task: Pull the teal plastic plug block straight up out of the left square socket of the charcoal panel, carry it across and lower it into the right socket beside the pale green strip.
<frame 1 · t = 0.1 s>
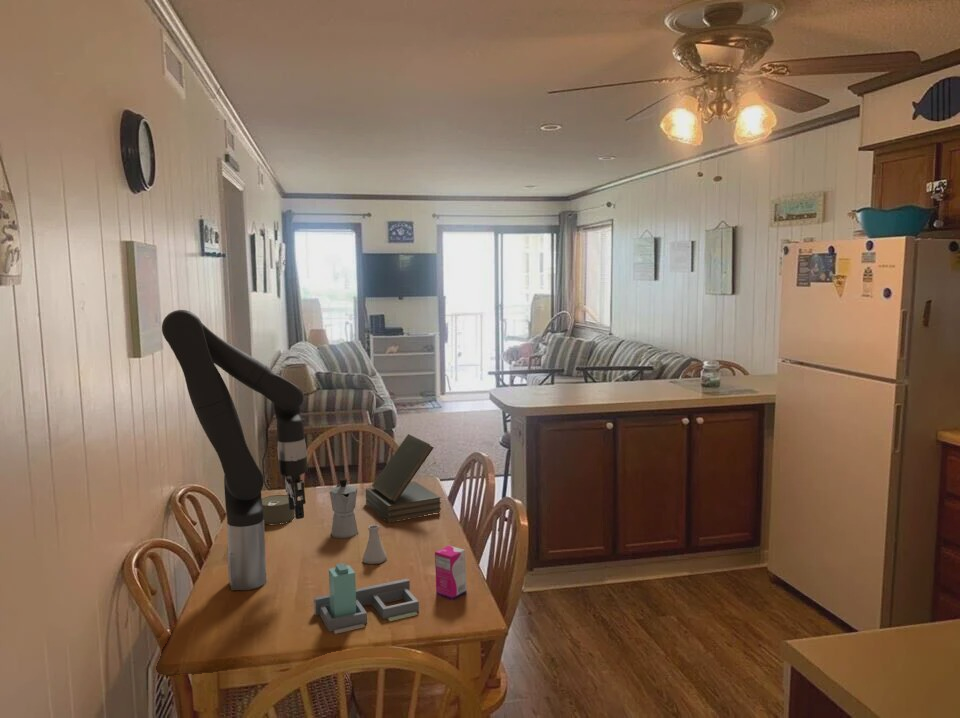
hand: (296, 513, 187), 17 cm above the table, tool pointing down, fingers open, 8 cm apart
can: (277, 520, 233), on the table
plug: (343, 619, 163), resting in socket panel
socket panel: (369, 613, 165), on the table
flask: (374, 560, 198), on the table
coffee maker: (344, 533, 220), on the table
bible: (402, 510, 244), on the table
supplement box: (451, 594, 176), on the table
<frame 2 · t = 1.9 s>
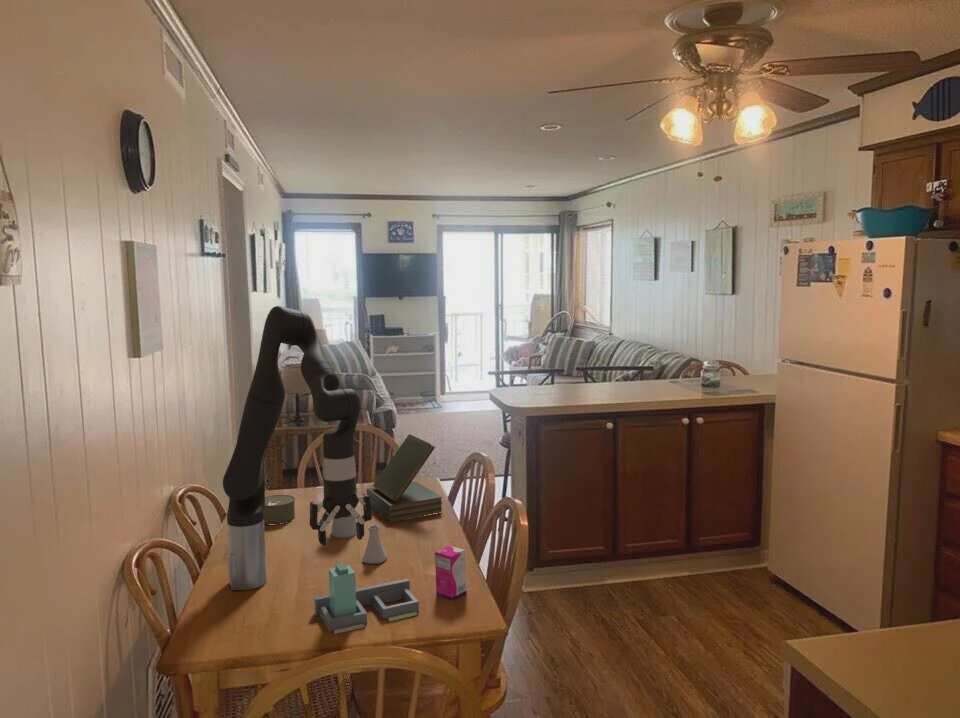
hand: (341, 541, 161), 19 cm above the table, tool pointing down, fingers open, 8 cm apart
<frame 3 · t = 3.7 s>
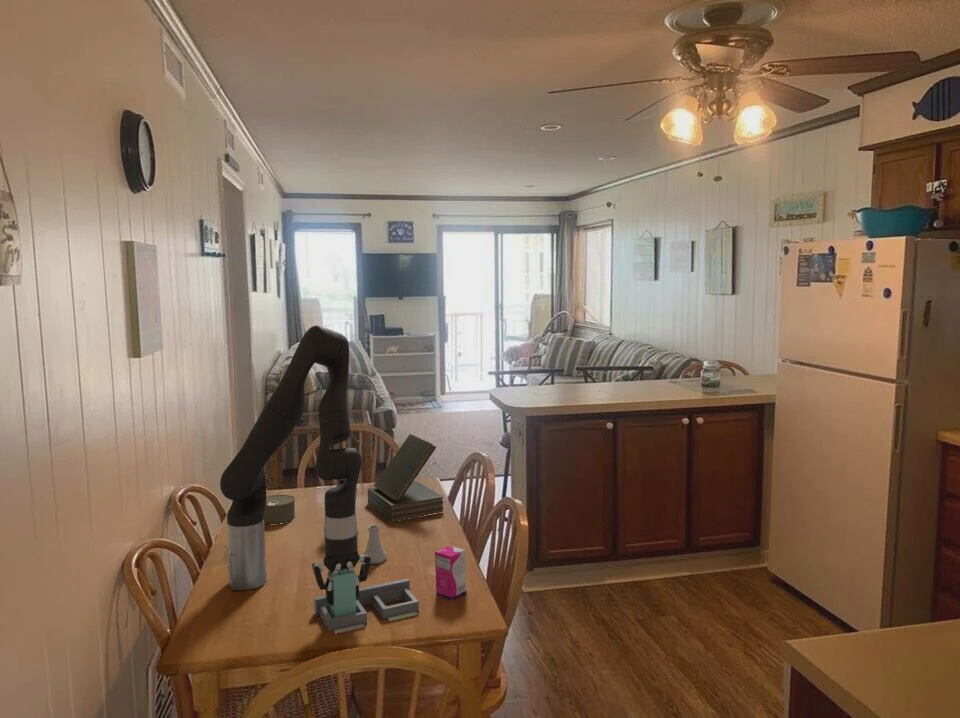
hand: (342, 601, 162), 4 cm above the table, tool pointing down, fingers closed on plug, 5 cm apart
plug: (343, 619, 163), resting in socket panel, touching gripper
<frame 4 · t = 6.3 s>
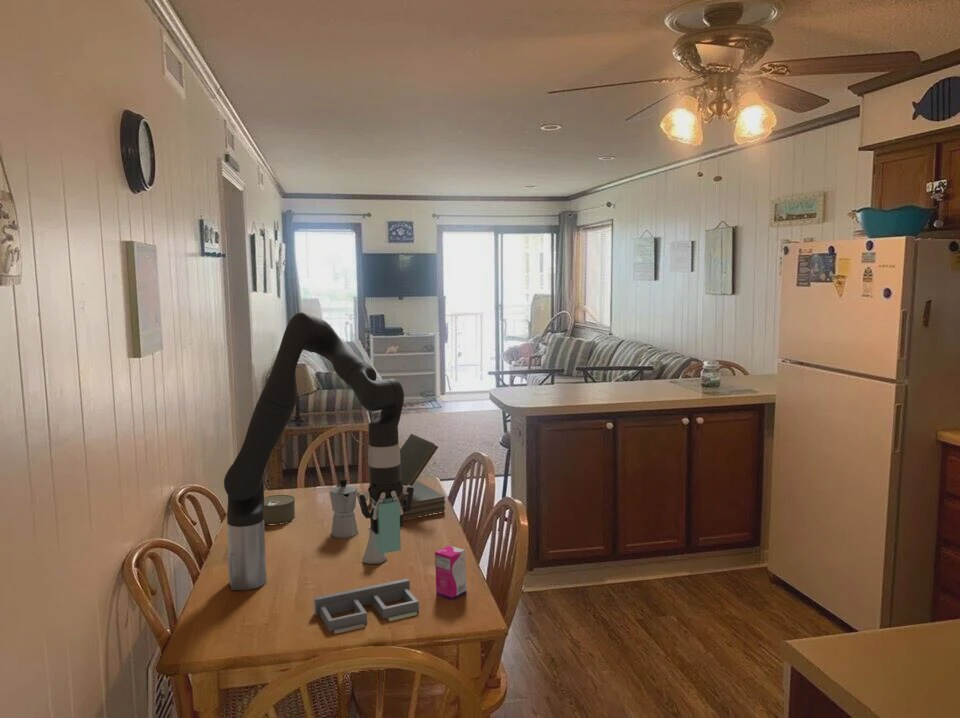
hand: (387, 530, 165), 20 cm above the table, tool pointing down, fingers closed on plug, 5 cm apart
plug: (387, 548, 166), point 15 cm above the table, touching gripper
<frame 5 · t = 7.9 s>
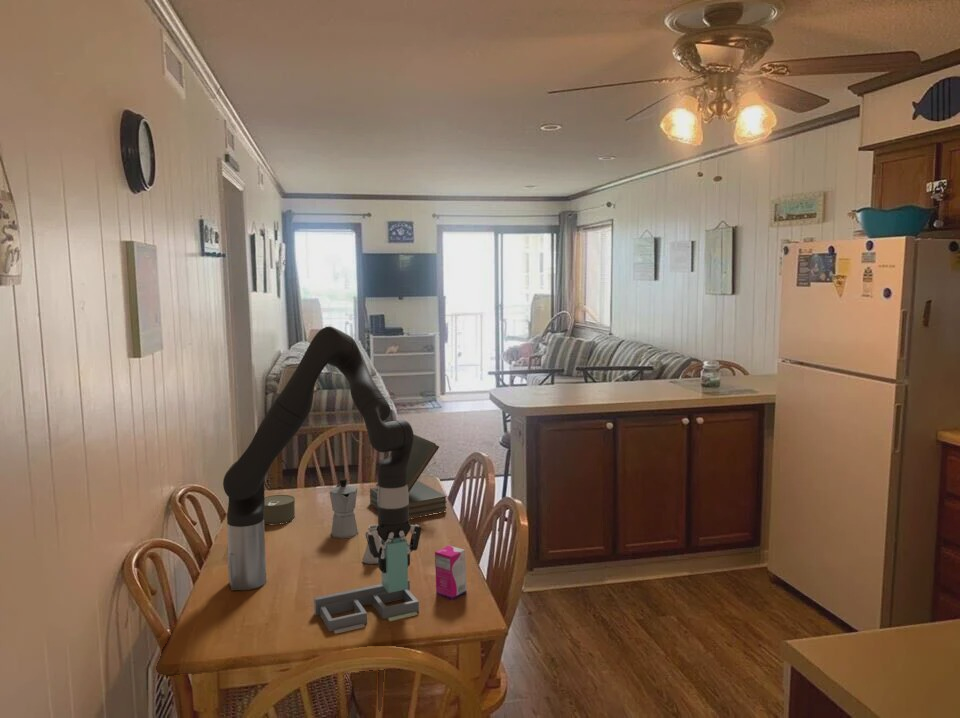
hand: (394, 569, 167), 10 cm above the table, tool pointing down, fingers closed on plug, 5 cm apart
plug: (394, 586, 168), point 5 cm above the table, touching gripper
when the fingers open (6 cm above the table, at t = 9.1 s): plug drops 1 cm, resting in socket panel.
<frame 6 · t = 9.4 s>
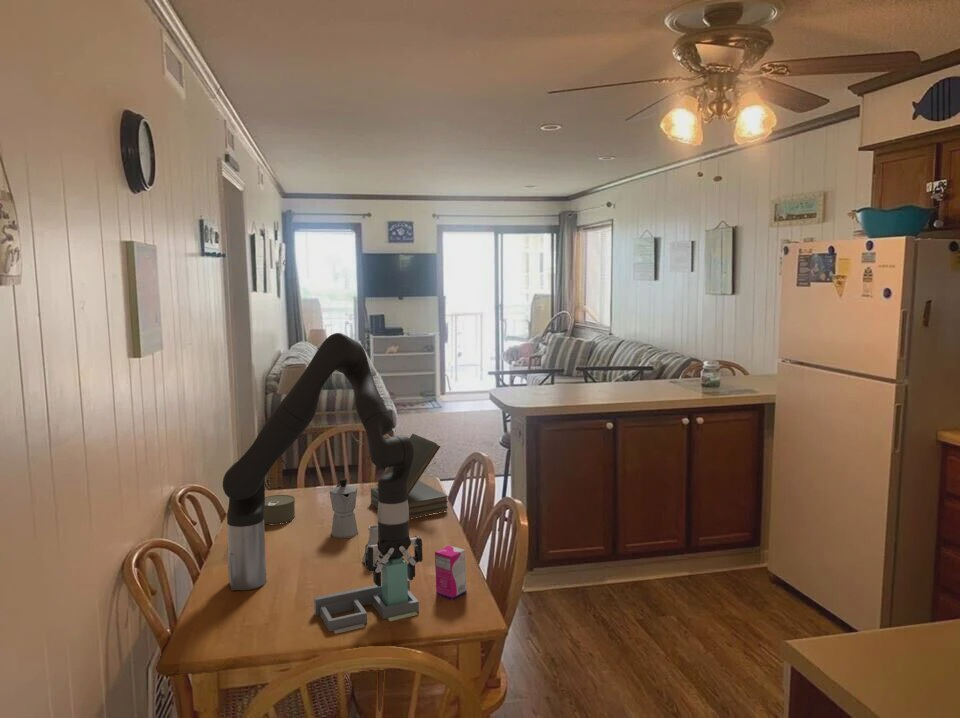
hand: (394, 582, 168), 7 cm above the table, tool pointing down, fingers open, 8 cm apart
plug: (395, 607, 168), resting in socket panel
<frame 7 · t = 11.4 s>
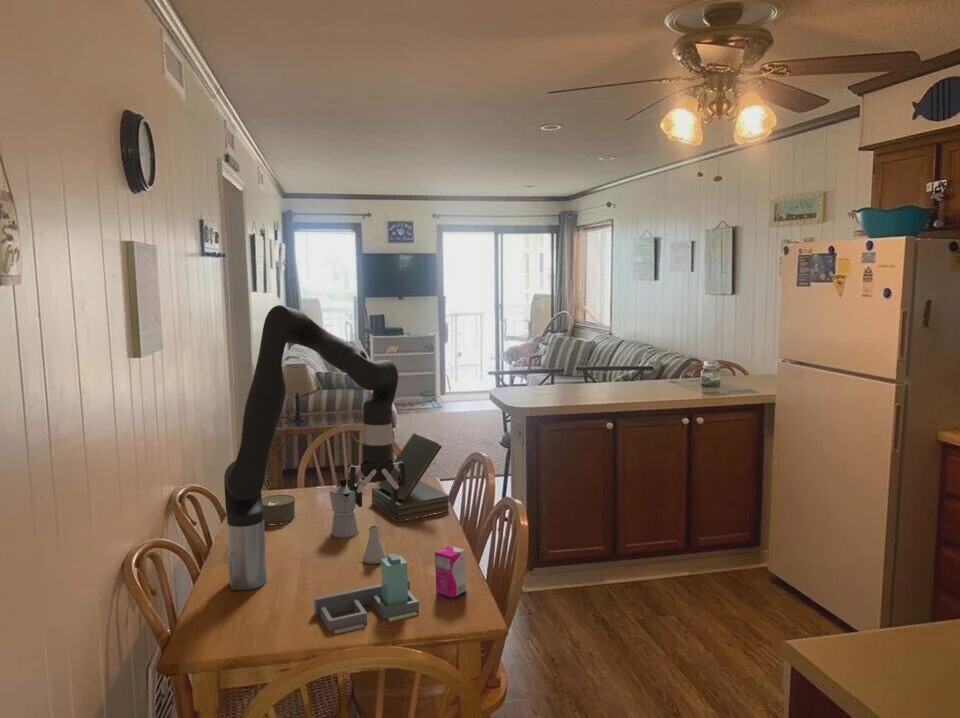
hand: (376, 504, 170), 25 cm above the table, tool pointing down, fingers open, 8 cm apart
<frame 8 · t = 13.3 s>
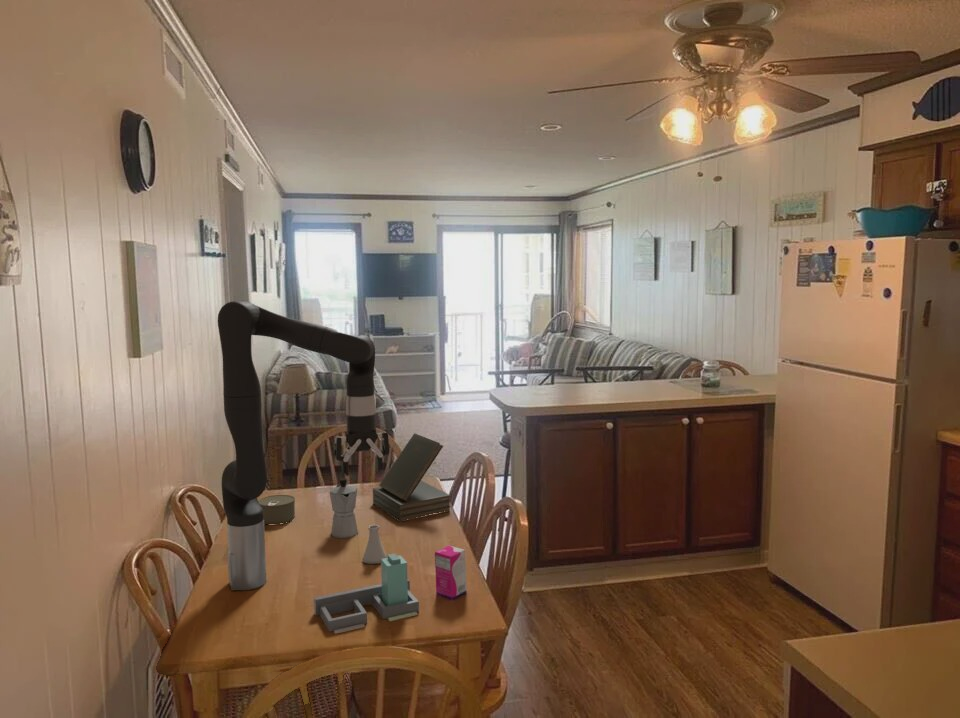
hand: (362, 473, 179), 30 cm above the table, tool pointing down, fingers open, 8 cm apart
at the end: plug 0.0 cm from the target spot on the socket panel, point 0.0 cm above the socket panel's base; plug tilted 0°; the gripper is holding nothing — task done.
